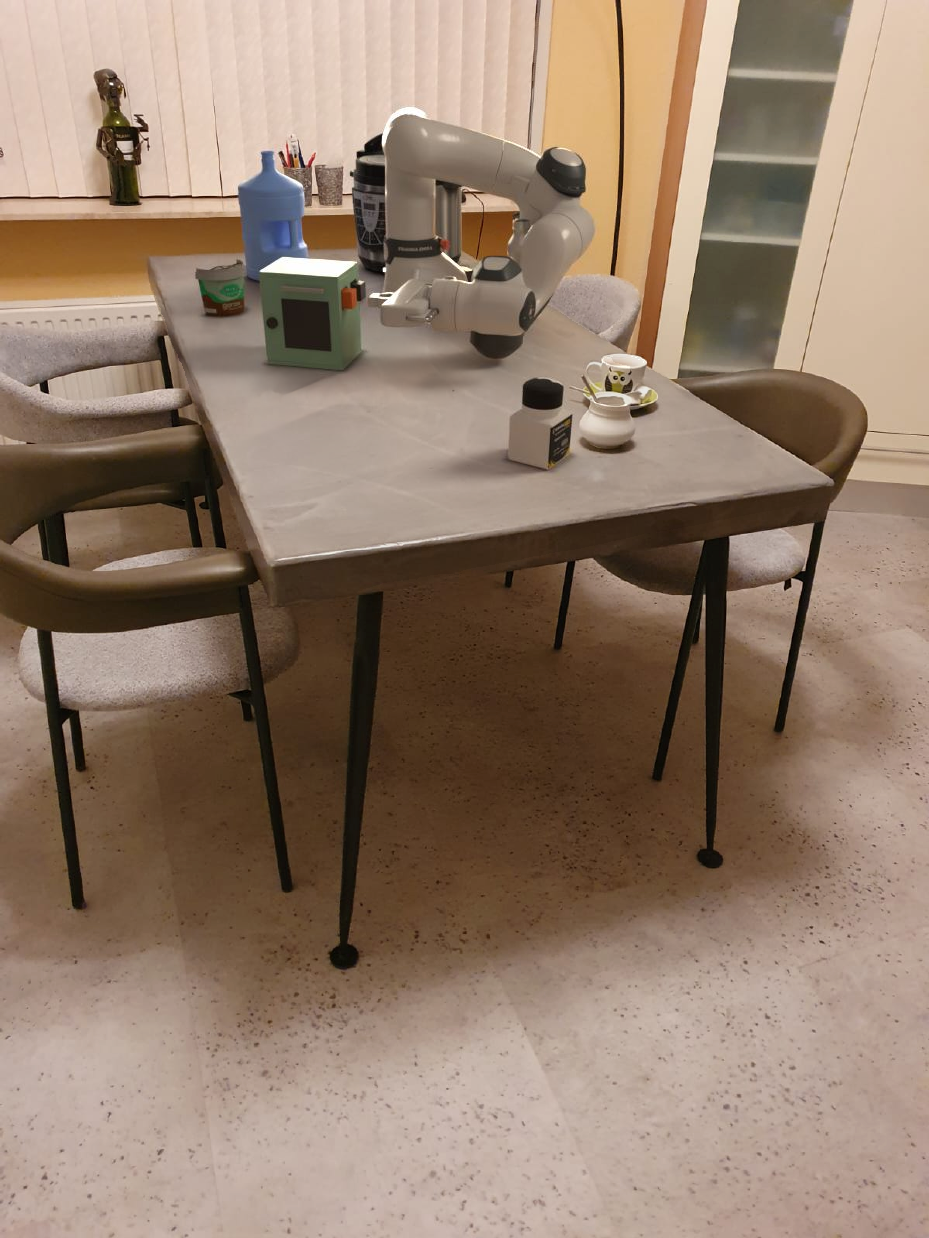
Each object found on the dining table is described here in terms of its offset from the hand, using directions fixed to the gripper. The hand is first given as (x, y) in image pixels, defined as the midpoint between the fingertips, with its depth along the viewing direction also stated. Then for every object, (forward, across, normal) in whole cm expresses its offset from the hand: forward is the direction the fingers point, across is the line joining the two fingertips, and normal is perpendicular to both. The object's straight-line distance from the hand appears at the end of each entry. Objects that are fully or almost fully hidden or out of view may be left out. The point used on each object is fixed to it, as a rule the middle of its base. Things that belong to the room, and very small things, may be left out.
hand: (370, 299), depth 175 cm
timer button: (+5, +6, -2) cm, 7 cm away
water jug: (+43, +62, -13) cm, 76 cm away
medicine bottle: (-37, -34, -13) cm, 52 cm away
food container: (+40, +27, -13) cm, 50 cm away
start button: (+5, 0, -2) cm, 5 cm away
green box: (+12, +3, -13) cm, 18 cm away
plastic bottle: (-22, +40, -12) cm, 48 cm away
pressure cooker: (+14, +80, -13) cm, 83 cm away
